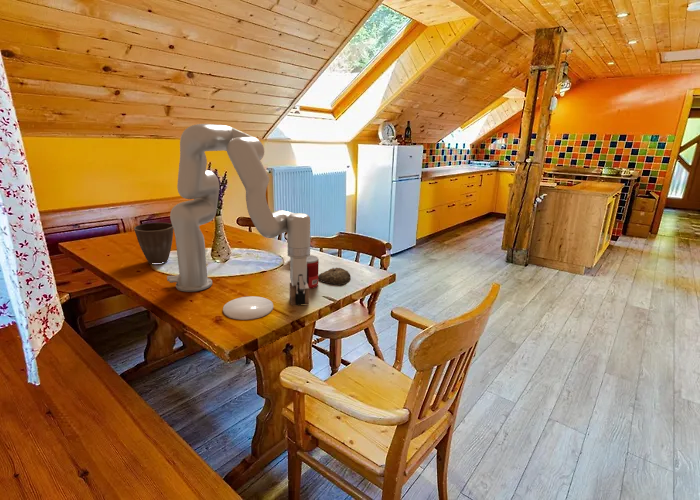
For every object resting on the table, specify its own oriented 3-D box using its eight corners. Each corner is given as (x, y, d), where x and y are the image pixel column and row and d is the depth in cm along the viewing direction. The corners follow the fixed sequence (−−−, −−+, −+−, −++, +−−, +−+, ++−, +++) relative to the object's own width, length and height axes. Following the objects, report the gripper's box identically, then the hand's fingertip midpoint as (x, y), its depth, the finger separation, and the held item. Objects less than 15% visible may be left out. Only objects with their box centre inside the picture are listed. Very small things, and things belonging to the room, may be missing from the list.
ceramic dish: (221, 321, 117) (221, 319, 117) (225, 300, 132) (224, 297, 131) (274, 317, 120) (274, 315, 120) (272, 297, 135) (272, 295, 135)
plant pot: (177, 265, 163) (173, 229, 158) (138, 269, 157) (132, 231, 152) (176, 255, 176) (172, 221, 171) (139, 258, 170) (135, 223, 165)
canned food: (318, 281, 151) (319, 255, 148) (317, 289, 143) (318, 261, 140) (299, 281, 151) (299, 254, 147) (297, 289, 143) (297, 261, 140)
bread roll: (339, 287, 146) (340, 275, 145) (313, 280, 152) (313, 269, 151) (356, 278, 157) (357, 266, 156) (331, 271, 163) (331, 260, 162)
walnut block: (291, 305, 129) (291, 289, 128) (289, 298, 135) (289, 282, 133) (308, 304, 131) (308, 288, 129) (306, 297, 136) (306, 281, 134)
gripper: (285, 243, 134) (286, 291, 140) (289, 259, 118) (290, 311, 124) (306, 243, 136) (306, 289, 141) (313, 258, 120) (313, 310, 125)
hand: (299, 299), depth 133 cm, fingers closed on walnut block, 6 cm apart
